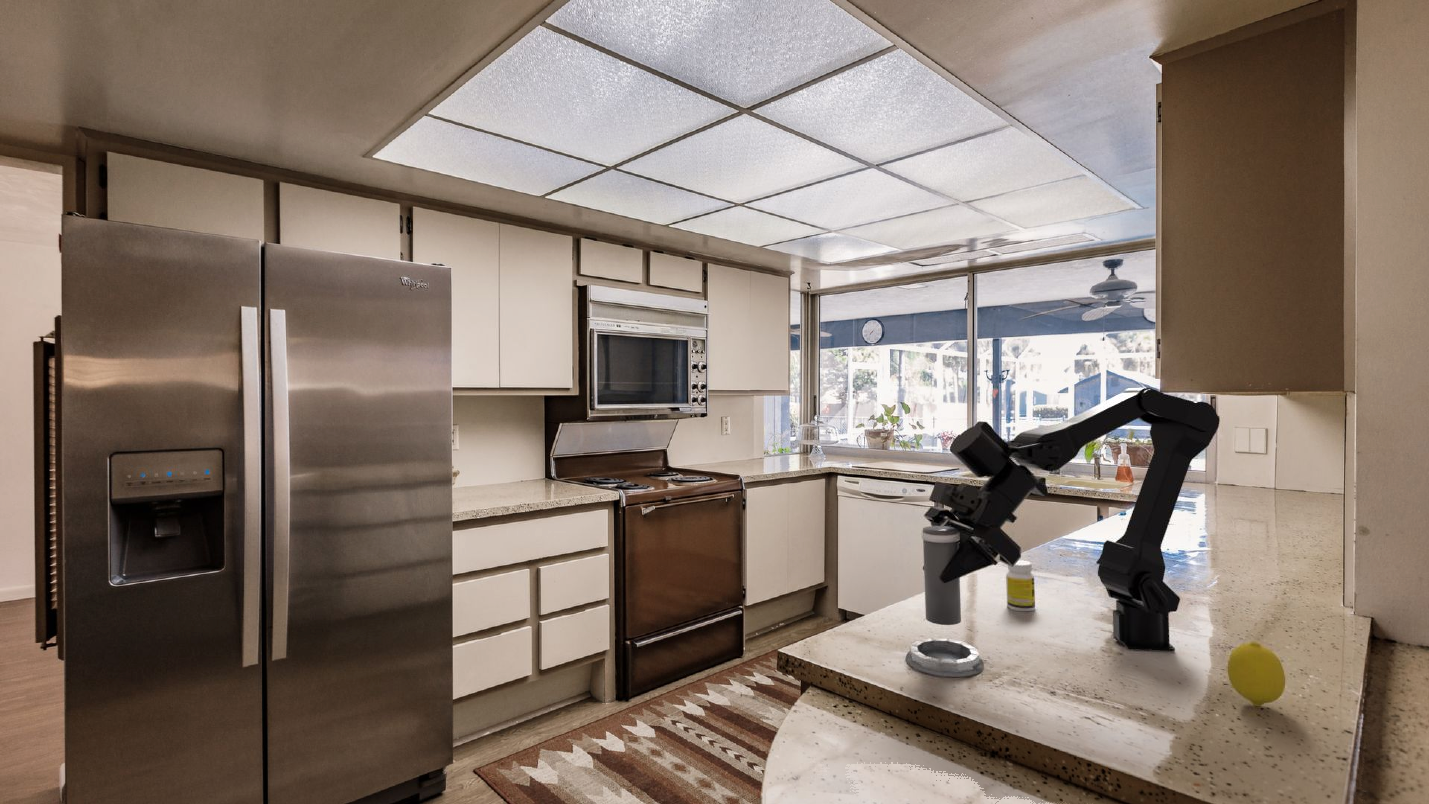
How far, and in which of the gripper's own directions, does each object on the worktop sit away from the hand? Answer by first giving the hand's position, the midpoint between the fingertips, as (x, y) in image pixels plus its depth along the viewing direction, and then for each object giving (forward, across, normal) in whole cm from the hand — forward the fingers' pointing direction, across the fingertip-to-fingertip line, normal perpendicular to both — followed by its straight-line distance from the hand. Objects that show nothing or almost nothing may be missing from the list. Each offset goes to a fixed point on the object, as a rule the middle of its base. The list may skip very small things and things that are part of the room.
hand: (933, 576), depth 98 cm
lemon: (-13, +21, +32) cm, 40 cm away
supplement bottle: (-9, -20, +28) cm, 36 cm away
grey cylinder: (+4, 0, +6) cm, 7 cm away
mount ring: (+8, 0, +10) cm, 13 cm away
